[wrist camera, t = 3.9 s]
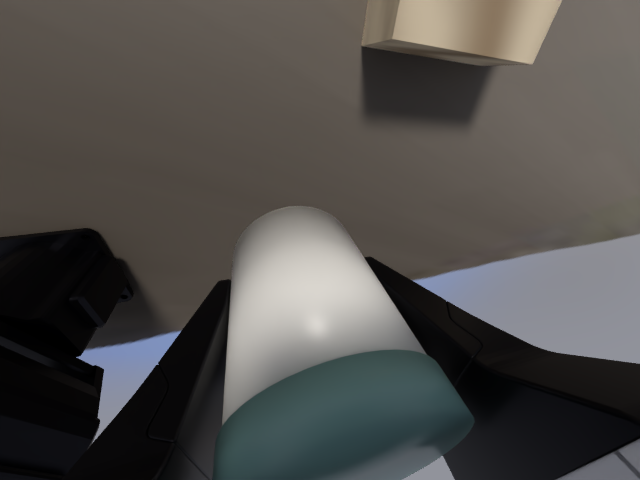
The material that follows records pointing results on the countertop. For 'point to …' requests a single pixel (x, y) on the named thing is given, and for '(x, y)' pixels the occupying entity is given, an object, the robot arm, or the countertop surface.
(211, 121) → the countertop surface
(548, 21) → the beech block
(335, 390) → the white jar
